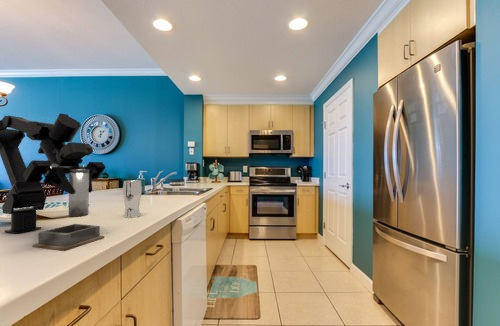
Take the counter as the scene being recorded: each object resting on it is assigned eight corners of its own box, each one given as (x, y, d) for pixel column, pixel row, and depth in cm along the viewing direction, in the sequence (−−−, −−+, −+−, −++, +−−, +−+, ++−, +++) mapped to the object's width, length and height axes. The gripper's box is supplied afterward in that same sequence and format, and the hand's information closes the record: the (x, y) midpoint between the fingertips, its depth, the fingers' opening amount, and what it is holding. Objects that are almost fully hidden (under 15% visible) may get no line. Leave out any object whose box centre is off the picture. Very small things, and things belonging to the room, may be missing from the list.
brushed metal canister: (67, 215, 65) (68, 169, 65) (87, 213, 68) (88, 169, 68) (69, 218, 62) (70, 169, 62) (89, 215, 65) (90, 169, 65)
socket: (32, 247, 59) (32, 232, 59) (75, 235, 70) (75, 223, 70) (64, 251, 56) (64, 236, 56) (104, 238, 67) (104, 225, 67)
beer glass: (133, 218, 93) (134, 181, 94) (118, 217, 95) (119, 181, 95) (144, 215, 100) (145, 180, 101) (130, 214, 102) (131, 180, 102)
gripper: (30, 128, 58) (56, 172, 54) (102, 137, 76) (126, 171, 71) (12, 160, 61) (36, 204, 57) (85, 161, 78) (108, 196, 74)
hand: (82, 192), depth 64 cm, fingers closed on brushed metal canister, 4 cm apart
